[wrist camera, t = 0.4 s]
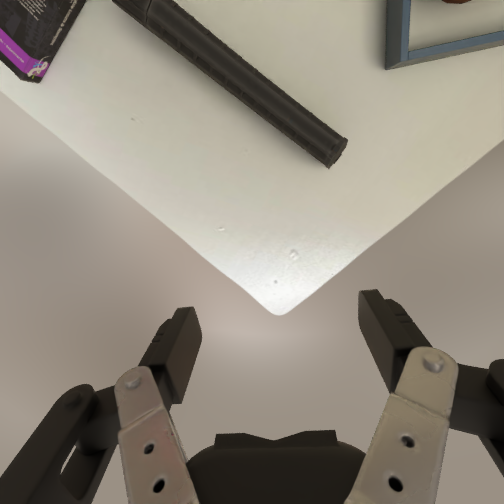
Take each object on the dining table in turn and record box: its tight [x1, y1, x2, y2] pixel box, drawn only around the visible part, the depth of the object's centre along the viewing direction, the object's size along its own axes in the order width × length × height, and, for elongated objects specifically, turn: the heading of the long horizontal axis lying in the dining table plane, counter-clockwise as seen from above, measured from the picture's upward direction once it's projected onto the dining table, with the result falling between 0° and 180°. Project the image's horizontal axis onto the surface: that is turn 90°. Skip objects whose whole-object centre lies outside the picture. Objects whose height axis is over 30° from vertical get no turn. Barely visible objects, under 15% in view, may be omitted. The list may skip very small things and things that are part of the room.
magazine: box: [112, 0, 348, 169], centre depth 28 cm, size 17×3×30 cm
